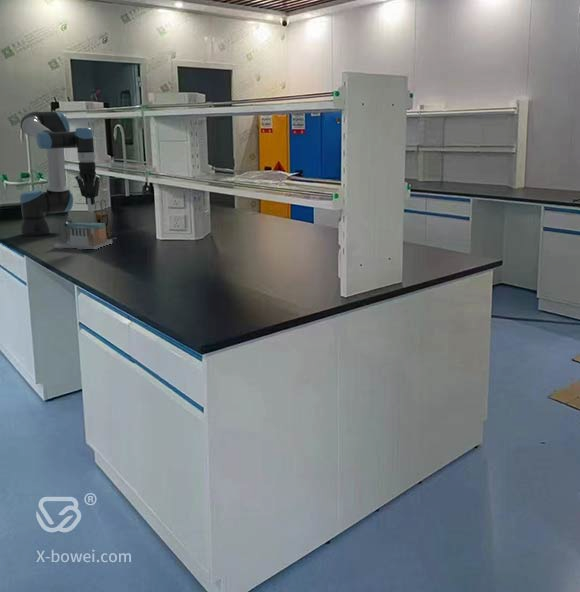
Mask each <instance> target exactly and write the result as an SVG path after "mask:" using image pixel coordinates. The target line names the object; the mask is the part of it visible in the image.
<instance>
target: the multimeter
mask: <svg viewBox="0 0 580 592" xmlns="http://www.w3.org/2000/svg"><path fill="white" fill-rule="evenodd" d="M103 201H104V205H105V207H107V203H106V201H105V200H103ZM97 203H99V204H100V205H103V202H102V201H99V200H97V201H96V203H95V204H94V212H97ZM103 209H104V208H103V207H100V213H96V214H95V218H96V219H95V220H96V223H105V227H106V237H107V240H112V239H113V240H117V238H116V236H115V235H113V236H112V235H111V233H110V223H109V212H107V211H105V212H104V210H103ZM108 237H109V238H108ZM110 237H111V238H110Z"/></svg>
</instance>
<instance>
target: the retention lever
mask: <svg viewBox="0 0 580 592" xmlns="http://www.w3.org/2000/svg"><path fill="white" fill-rule="evenodd" d="M64 222H65V227H67V226H73V228H77V227H86V228H102V227H105V223H97V222H91V223H90V222H73V221H72V222H69V221H68V222H67V221H64Z"/></svg>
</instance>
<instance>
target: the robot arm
mask: <svg viewBox="0 0 580 592" xmlns="http://www.w3.org/2000/svg"><path fill="white" fill-rule="evenodd" d="M19 124H20V130H21V131H22V132H23V133H24V134H25V135H27V136H29V137H33V139H35V140H36V144H37V146H38V148H39V149H43V150H46V157H47V160H46V161H47V174H48V185H47V186H46V189H45V190H46V191H43V190H42V189H33V190H27V191H24V192H22V193H21V194H20V196H19V200H20V201H19V203H20V207H21V215H22V223H21V229H20V235H21V236H24V237H36V236H37V237H39V236H46V235H49V233H50V234H51V231H52V230H51V227H50V225H49V223H48V221H47V219H46V214H59V213H66V212H67V213H68V212H69V211H71V210H72V208H73V205H74V196H73V195H74V194H73V191H71V190H70V188H69V186H67V184H66V168H65V167H66V166H65V153H64V152H65V150H64V149H76V150H77V151H76V152H77V160H78V170H79V174H78V175H76V176H74V178H75V180H76V181H77V185H78V188H79V191H80V195H81V197H84V198H85V202H86V205H87V211H88V213H92V212H95V204H96V202H95V198H96V197H98V196H99V190H100V181H101V180H102V176H99V175H97V172H96V162H95V161H96V158H95V157H96V156H95V147H94V134H93V129H92V128H91V127H77V128H75V131H74V130H73V131H71V129H70V123H69V120H68V117H67V116H66V114H65V113H64V112H61V111H32V112H28V113H26V114H25V115H24V116H23V117H22V118H21V120H20V123H19ZM45 234H46V235H45Z"/></svg>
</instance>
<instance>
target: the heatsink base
mask: <svg viewBox="0 0 580 592" xmlns="http://www.w3.org/2000/svg"><path fill="white" fill-rule="evenodd" d="M68 221H69V222H73V220H72V219H66V221H59V231H60V240H61V242H57V243H54V249H63V248H77V249H76V250H82V249H94V250H93V251H96V250H95V249H97V250H99V249H101V248H100V247H102V248H104V247H103V246H105V247H107V246H106V245H108V246H110V245H109V244H111V245H113V244H114V243H113V239H111V240H107V239H108V238H107V237H106V227H102V228H86V227H74V226H65V222H68ZM66 227H67V231H66ZM67 234H68V236H67ZM67 237H68V239H67ZM112 243H113V244H112ZM98 248H99V249H98Z"/></svg>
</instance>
